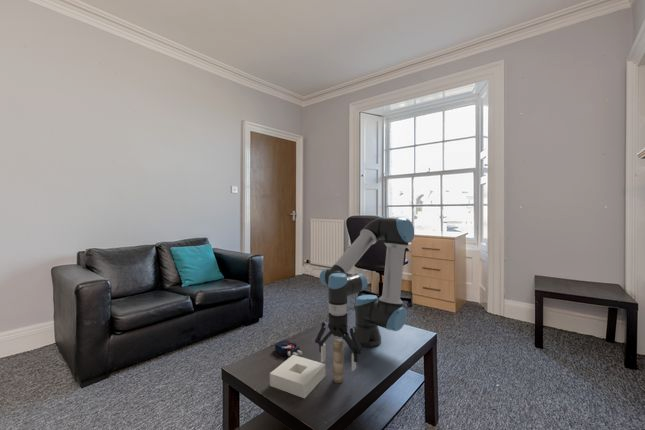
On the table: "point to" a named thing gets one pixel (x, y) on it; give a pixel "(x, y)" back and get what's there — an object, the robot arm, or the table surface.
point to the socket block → (297, 376)
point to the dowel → (338, 360)
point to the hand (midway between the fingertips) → (338, 364)
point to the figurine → (287, 348)
